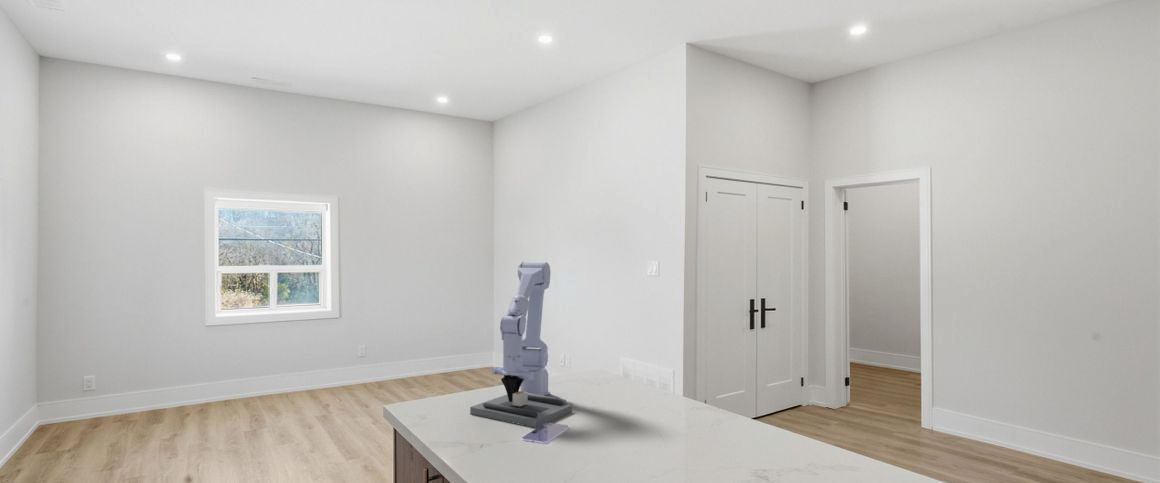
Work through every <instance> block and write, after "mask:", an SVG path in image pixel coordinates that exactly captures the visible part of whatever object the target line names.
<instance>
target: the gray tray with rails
mask: <svg viewBox="0 0 1160 483" xmlns="http://www.w3.org/2000/svg"><path fill="white" fill-rule="evenodd" d="M519 391H520V390H519ZM519 391H518V392H519ZM528 400H534V401H539V402H545V403H550V404H556V405H561V404H567V400H566V399H563V398H559V397H553V396H548V395H545V396H542V395H536V394H531V393H528ZM483 403H484V402H483ZM483 406H484V407H486V408H491V409H496V410H501V411H505V412H510V413H515V414H520V415H525V416H530V417H537V415H538V414H537V413H536V412H532V411H527V410H522V409H517V408H512V407H506V406H501V405H496V404H491V403H484V404H483Z"/></svg>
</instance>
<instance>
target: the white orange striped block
mask: <svg viewBox="0 0 1160 483" xmlns="http://www.w3.org/2000/svg"><path fill="white" fill-rule="evenodd" d="M526 404H528V392H525V391H521V390H519V392H516V393H513V405H514V406H523V405H526Z"/></svg>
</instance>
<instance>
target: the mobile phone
mask: <svg viewBox="0 0 1160 483" xmlns="http://www.w3.org/2000/svg"><path fill="white" fill-rule="evenodd" d="M568 429H570V426H569V425H567V424H560V423H556V422H555V423H554V422H548V423H544V424H543V425H541V426H539V427H537V428H534V429H533V430H531V431H530V432H529V433H526V434H525V435H524V436H522V437H521V441H523V442H529V443H534V444H541V445H545V444H546V445H547V444H549V443H550V442H552V441H553V440H554V439H556V438H558V437H559V436H560V435H561V434H563V433H564V432H566V431H567V430H568Z"/></svg>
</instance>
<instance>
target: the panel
mask: <svg viewBox="0 0 1160 483" xmlns="http://www.w3.org/2000/svg"><path fill="white" fill-rule="evenodd" d="M484 403H491V404H496V405H501V406H506V407H512V408H517V409H522V410H527V411H532V412H536V413H537V414H538V415H537V417H530V416H525V415H520V414H515V413H510V412H505V411H501V410H496V409H491V408H486V407H484V406H483V404H484ZM469 409H470V411H469V412H470V413H469V414H470V415H473V416H478V417H479V416H480V417H483V418H488V419H493V420H497V421H502V420H503V421H502V422H506V421H509V422H508V423H511V422H514V423H513V424H516V423H519V424H518V425H520V424H523V425H522V426H525V425H526V426H525V427H530V428H534V429H536V428H538V427H540V426H541V425H543V424H544V423H551V422H552V421H555V420H557V419H559V418H561V417H563V416H566V415H568V414H571V413H572V412H573V405H572V404H568V403H566V404H561V405H556V404H550V403H545V402H539V401H534V400H528V404H526V405H523V406H514V405H513V402H509V399H508V395H507V394H504V395H502V396H499V397H496V398H492V399H491V400H487V401H483V402H481V403H479V404H475V405H472V406H470V408H469Z"/></svg>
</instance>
